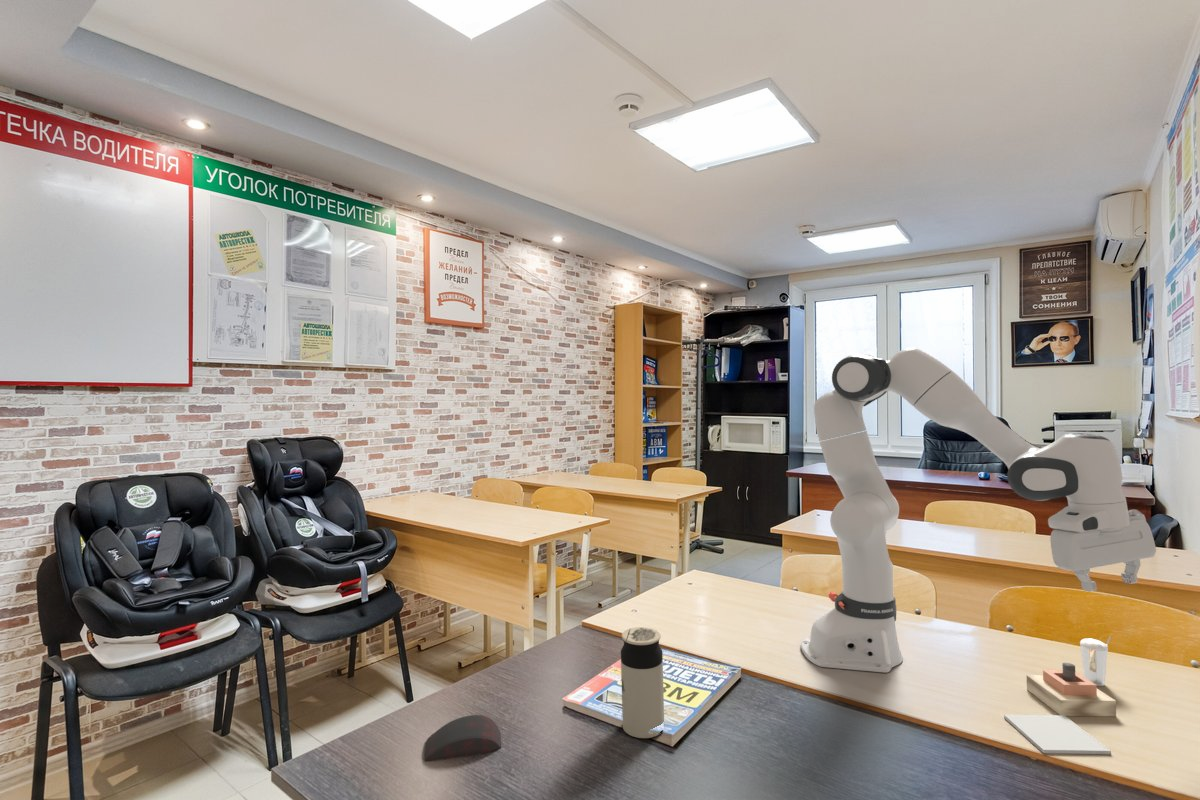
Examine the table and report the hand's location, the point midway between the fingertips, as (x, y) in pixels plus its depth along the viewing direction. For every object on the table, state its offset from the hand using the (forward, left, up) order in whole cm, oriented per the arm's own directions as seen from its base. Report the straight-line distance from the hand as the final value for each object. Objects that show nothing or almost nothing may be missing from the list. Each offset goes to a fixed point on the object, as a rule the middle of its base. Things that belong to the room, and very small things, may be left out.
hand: (1110, 586), depth 114 cm
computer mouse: (-124, -15, -25) cm, 128 cm away
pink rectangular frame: (-6, +3, -21) cm, 22 cm away
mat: (-17, -9, -24) cm, 31 cm away
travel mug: (-91, -8, -24) cm, 95 cm away
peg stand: (-6, +3, -24) cm, 25 cm away
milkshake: (+5, +11, -24) cm, 27 cm away
